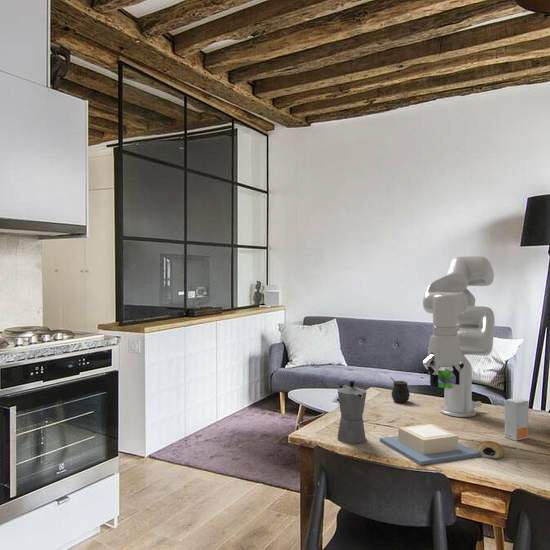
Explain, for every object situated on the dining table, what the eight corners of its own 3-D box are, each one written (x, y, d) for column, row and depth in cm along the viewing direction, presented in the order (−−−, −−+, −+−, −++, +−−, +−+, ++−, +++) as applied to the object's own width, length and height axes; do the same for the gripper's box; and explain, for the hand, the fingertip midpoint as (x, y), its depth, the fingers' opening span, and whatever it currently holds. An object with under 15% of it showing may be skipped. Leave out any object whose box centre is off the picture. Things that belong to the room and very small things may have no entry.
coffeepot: (375, 444, 145) (375, 384, 145) (346, 447, 143) (346, 386, 143) (353, 429, 160) (353, 374, 160) (326, 431, 157) (327, 376, 157)
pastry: (480, 446, 144) (480, 434, 144) (505, 451, 141) (505, 438, 141) (476, 456, 136) (476, 443, 136) (502, 461, 133) (502, 447, 133)
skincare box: (516, 441, 149) (516, 402, 149) (504, 437, 153) (504, 399, 153) (528, 438, 152) (529, 400, 152) (516, 434, 155) (516, 397, 155)
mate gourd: (412, 403, 193) (412, 378, 193) (393, 404, 192) (393, 379, 192) (406, 399, 200) (406, 375, 200) (388, 399, 200) (388, 375, 200)
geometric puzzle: (455, 387, 152) (455, 364, 156) (432, 385, 154) (433, 362, 159) (455, 396, 157) (456, 373, 162) (433, 394, 160) (434, 372, 164)
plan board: (433, 434, 155) (433, 418, 155) (479, 456, 136) (479, 438, 136) (379, 441, 148) (379, 424, 148) (420, 465, 129) (420, 446, 129)
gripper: (458, 329, 164) (458, 380, 164) (415, 331, 158) (415, 384, 159) (474, 331, 157) (474, 385, 157) (430, 334, 151) (430, 390, 151)
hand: (444, 384), depth 158 cm, fingers closed on geometric puzzle, 7 cm apart
